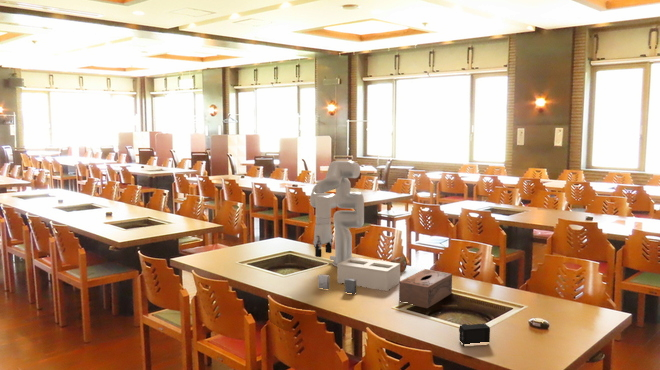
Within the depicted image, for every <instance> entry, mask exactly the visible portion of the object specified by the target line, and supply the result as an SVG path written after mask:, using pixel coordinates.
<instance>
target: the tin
mask: <svg viewBox="0 0 660 370" xmlns="http://www.w3.org/2000/svg"><path fill="white" fill-rule="evenodd" d="M390 262H392V263H400V274H402V273H403V272H406V269H407V267H408V265H407V264H408V262H407V259H406V257H405V256H396V258H393V259H391V261H390Z"/></svg>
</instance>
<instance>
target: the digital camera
mask: <svg viewBox="0 0 660 370" xmlns="http://www.w3.org/2000/svg"><path fill="white" fill-rule="evenodd" d="M458 332H459V340H460V341H461V342H462V343H463V344H470V343H480V342H490V340H491V339H490V337H491V327H490V326H489V325H488V324H486V323H477V324H467V323H463V324H461V325H459V328H458ZM490 343H491V342H490Z"/></svg>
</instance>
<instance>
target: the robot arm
mask: <svg viewBox="0 0 660 370" xmlns="http://www.w3.org/2000/svg"><path fill="white" fill-rule="evenodd" d="M360 173H361V166H360V164H359V163H358V162H356V161H353V160H333V161H332V162H330V164H328V167H327V171H326V174H325V178H324V179H321V180H320V181H318V183H317V184H316V185H314V186H313V188H312V191H311V194H310V196H309V197H310V198H309V203H310V206H311V207H313V208H315V225H314V233H313V241H312V243H313V247H314V252H315V255H314V256H315V257H316V258H322V247H323V245H325V253H326V254H331V253H332V249H333V248H332V245H333V238H334V243H335V244H334V255H330V256H329V260H330V261H333V262H332V265H333V266H334V267H337V264H338V263H340V262H343V261H345V260H347V259H349V258H351V257H353V254H352V253H353V252H352V251H353V247H352V245H353V243H352V241H353V239H352V238H353V237H352V233H351V231H350V229H349V228H352V229H353V228H354V229H355V228H357V229H358V228H359V229H360V228H362V227H363V226H364V223H365V200H364V199H365V198H364V195H363V193H361V192H360V191H352V190H351V187H352V186H351V185H352V184H351V181H350V180H349V179H357V178H359V176H360ZM333 190H335V193H331V192H330V191H333ZM329 192H330V193H329ZM335 208H339V209H347V210H337V211H335V212H334V213H333V217H332V209H335ZM348 209H352V210H348ZM353 209H354V210H353ZM332 218H333V219H332ZM332 221H333V226H334V235H333V233H332V231H333V230H332Z"/></svg>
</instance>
